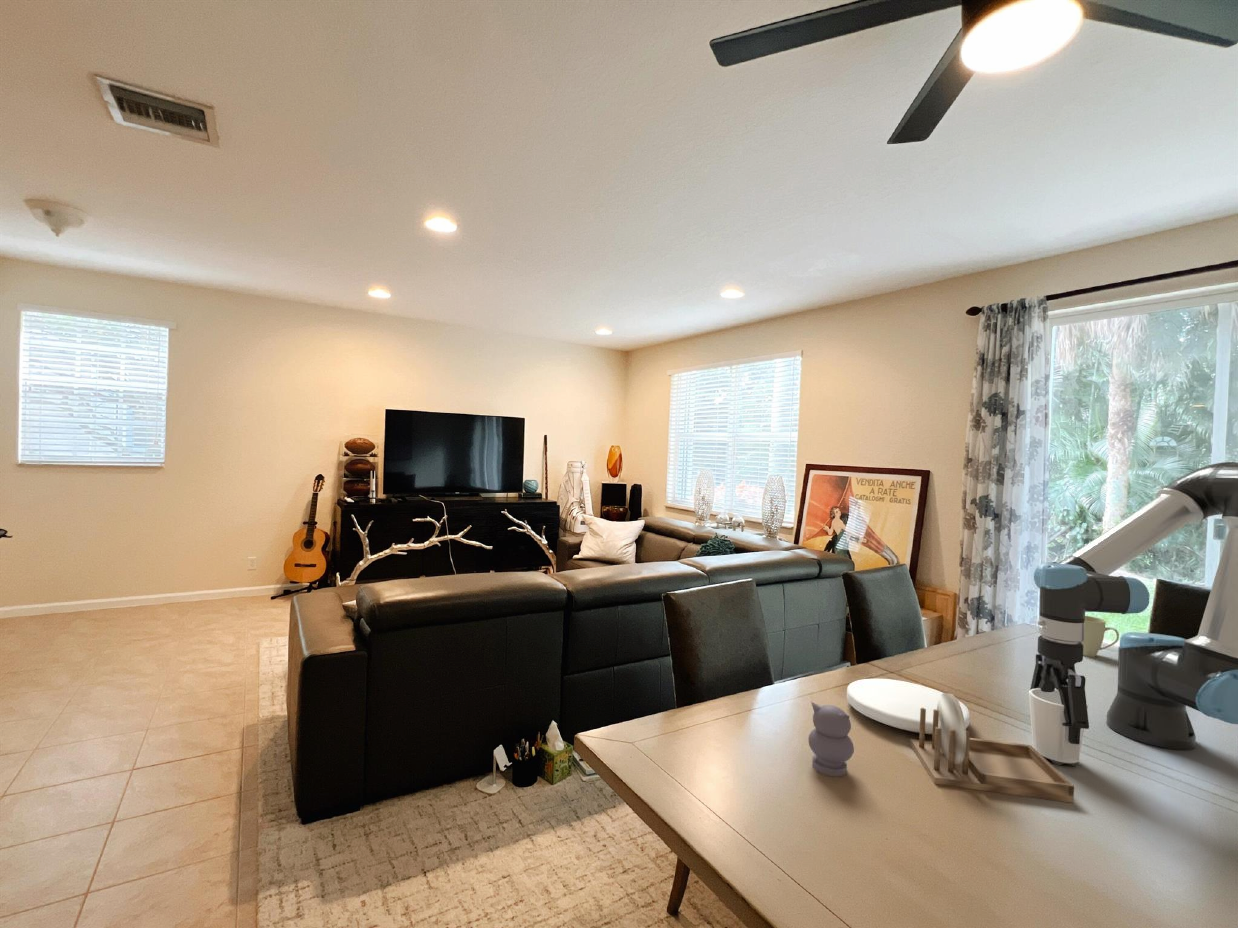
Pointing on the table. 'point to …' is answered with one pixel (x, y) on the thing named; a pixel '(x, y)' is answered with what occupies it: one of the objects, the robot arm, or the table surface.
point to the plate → (897, 703)
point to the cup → (1049, 725)
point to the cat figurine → (830, 740)
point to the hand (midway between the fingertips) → (1055, 744)
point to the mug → (1095, 636)
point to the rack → (984, 759)
